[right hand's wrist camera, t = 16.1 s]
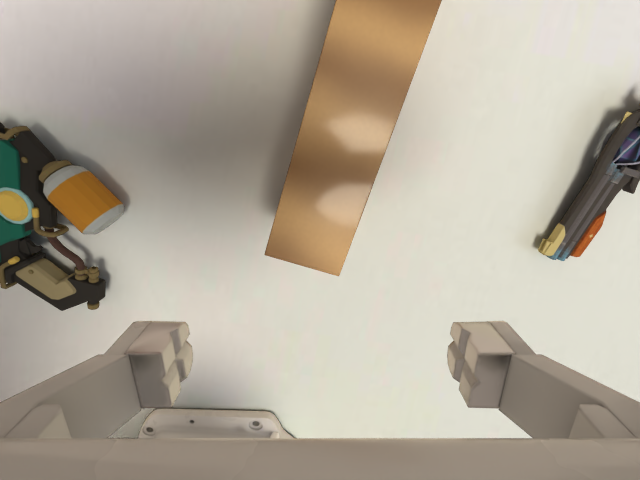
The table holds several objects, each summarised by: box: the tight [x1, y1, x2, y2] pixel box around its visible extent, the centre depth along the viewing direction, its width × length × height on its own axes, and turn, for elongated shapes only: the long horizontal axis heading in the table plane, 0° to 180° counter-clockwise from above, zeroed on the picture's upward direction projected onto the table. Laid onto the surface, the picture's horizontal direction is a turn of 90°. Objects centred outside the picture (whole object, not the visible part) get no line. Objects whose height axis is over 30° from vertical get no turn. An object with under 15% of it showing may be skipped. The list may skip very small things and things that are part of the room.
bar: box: [265, 0, 442, 276], centre depth 26 cm, size 24×6×9 cm, turn 162°
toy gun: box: [538, 104, 640, 261], centre depth 31 cm, size 3×19×10 cm
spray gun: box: [0, 123, 124, 311], centre depth 32 cm, size 4×17×15 cm
